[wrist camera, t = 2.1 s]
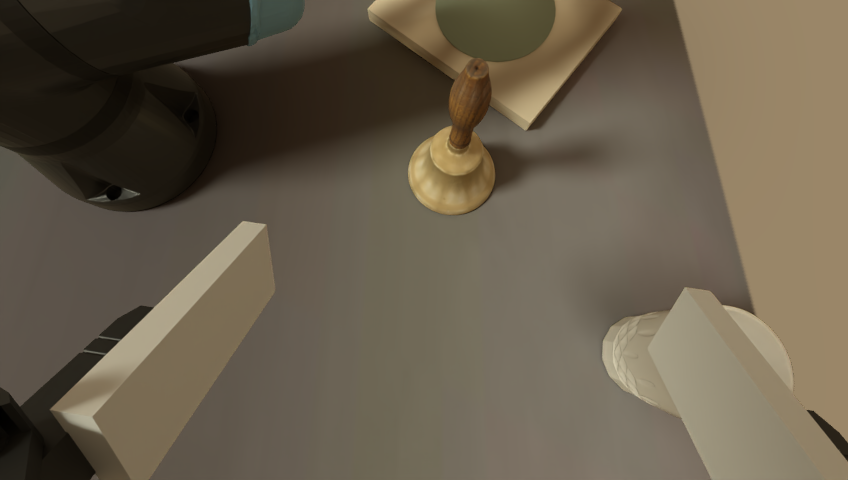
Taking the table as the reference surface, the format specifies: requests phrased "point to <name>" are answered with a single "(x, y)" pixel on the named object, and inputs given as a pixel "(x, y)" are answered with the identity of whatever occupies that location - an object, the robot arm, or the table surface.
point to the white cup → (640, 373)
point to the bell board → (502, 42)
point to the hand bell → (457, 150)
